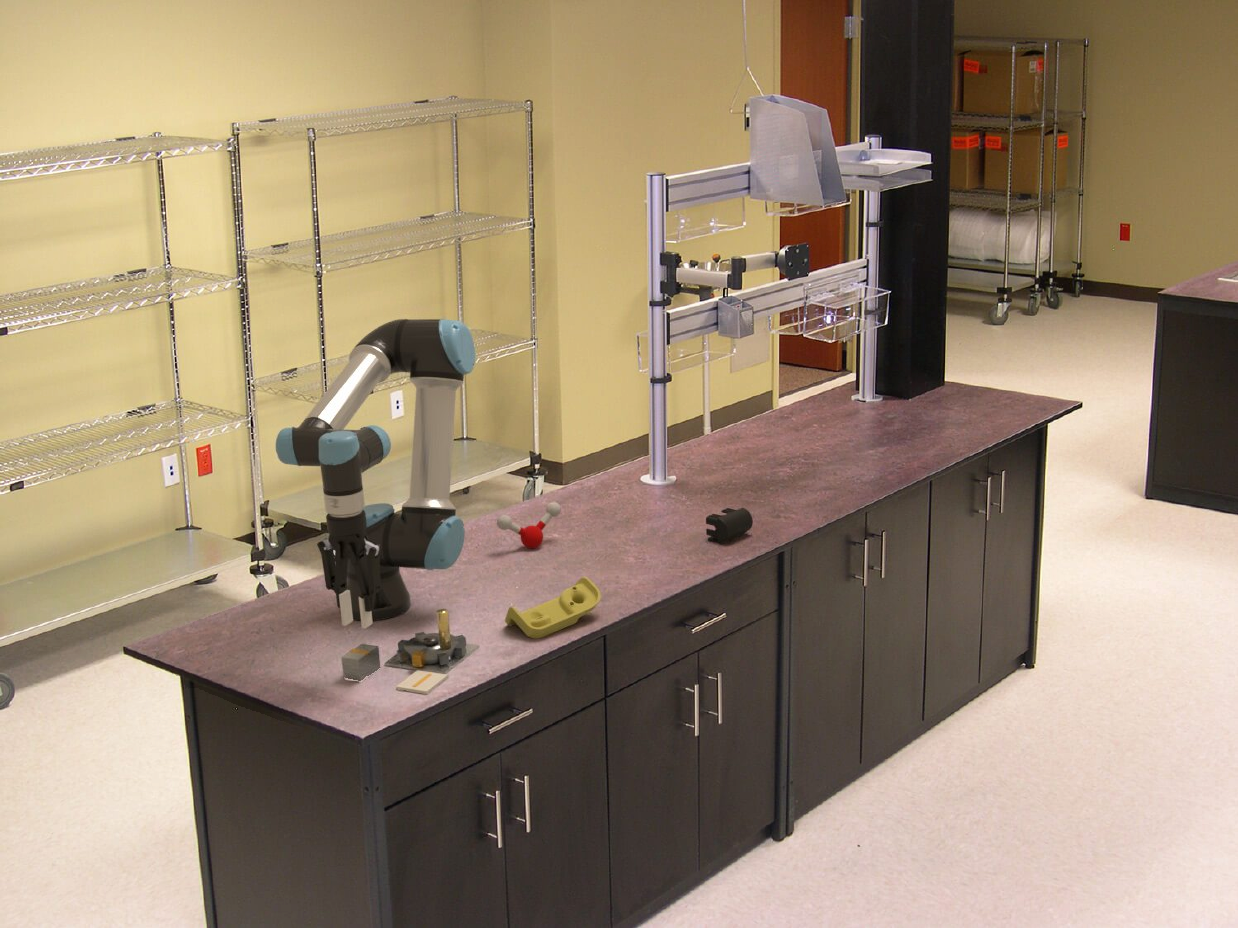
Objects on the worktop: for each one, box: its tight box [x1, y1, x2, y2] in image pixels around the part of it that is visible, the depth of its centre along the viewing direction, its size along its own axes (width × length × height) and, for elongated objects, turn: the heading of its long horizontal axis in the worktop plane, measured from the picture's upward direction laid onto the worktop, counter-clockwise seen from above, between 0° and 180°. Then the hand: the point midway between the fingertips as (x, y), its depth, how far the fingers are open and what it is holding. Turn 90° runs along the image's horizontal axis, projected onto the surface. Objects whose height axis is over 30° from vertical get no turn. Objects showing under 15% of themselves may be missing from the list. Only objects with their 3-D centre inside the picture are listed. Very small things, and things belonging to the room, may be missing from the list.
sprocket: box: [396, 608, 467, 667], centre depth 299 cm, size 14×14×10 cm
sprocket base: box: [384, 642, 480, 674], centre depth 301 cm, size 14×14×1 cm
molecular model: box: [496, 501, 562, 549], centre depth 360 cm, size 18×6×10 cm, turn 131°
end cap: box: [705, 507, 754, 545], centre depth 360 cm, size 10×7×7 cm
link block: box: [341, 643, 382, 681], centre depth 293 cm, size 4×7×5 cm, turn 155°
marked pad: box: [395, 670, 449, 695], centre depth 288 cm, size 7×8×1 cm
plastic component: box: [504, 576, 602, 639], centre depth 315 cm, size 20×7×10 cm
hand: (357, 624), depth 291 cm, fingers open, 4 cm apart
